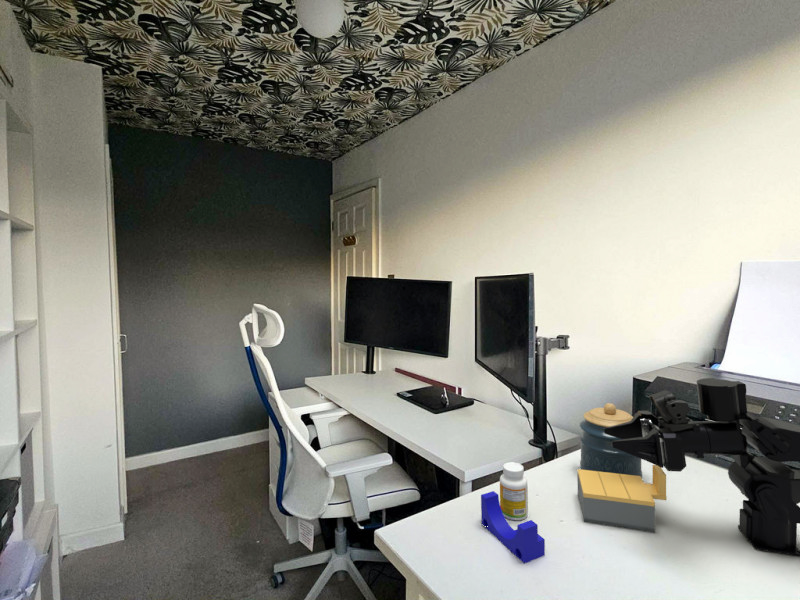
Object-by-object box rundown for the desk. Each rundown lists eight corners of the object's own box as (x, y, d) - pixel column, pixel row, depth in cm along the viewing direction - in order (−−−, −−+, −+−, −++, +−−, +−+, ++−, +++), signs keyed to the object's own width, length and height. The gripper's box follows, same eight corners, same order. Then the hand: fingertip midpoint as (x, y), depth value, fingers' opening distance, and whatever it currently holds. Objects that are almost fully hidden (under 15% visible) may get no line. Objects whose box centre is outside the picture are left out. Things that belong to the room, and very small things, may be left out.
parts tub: (640, 503, 82) (640, 479, 82) (655, 532, 72) (655, 506, 72) (577, 495, 86) (577, 472, 85) (583, 522, 76) (583, 497, 76)
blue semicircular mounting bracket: (544, 556, 67) (544, 522, 67) (524, 564, 66) (523, 529, 65) (500, 518, 78) (499, 489, 78) (481, 524, 77) (480, 494, 76)
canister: (599, 459, 102) (599, 392, 101) (653, 480, 91) (653, 405, 90) (568, 473, 95) (568, 401, 94) (622, 498, 84) (622, 416, 83)
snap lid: (654, 486, 81) (654, 458, 81) (671, 514, 71) (671, 483, 71) (577, 477, 85) (577, 451, 85) (583, 502, 76) (583, 472, 76)
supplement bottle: (507, 502, 83) (506, 458, 83) (532, 511, 80) (531, 465, 80) (495, 514, 79) (494, 467, 79) (521, 524, 76) (520, 475, 75)
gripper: (679, 385, 81) (595, 387, 86) (718, 403, 63) (610, 405, 68) (687, 440, 80) (602, 439, 85) (729, 474, 62) (619, 470, 67)
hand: (607, 437), depth 76 cm, fingers open, 9 cm apart
